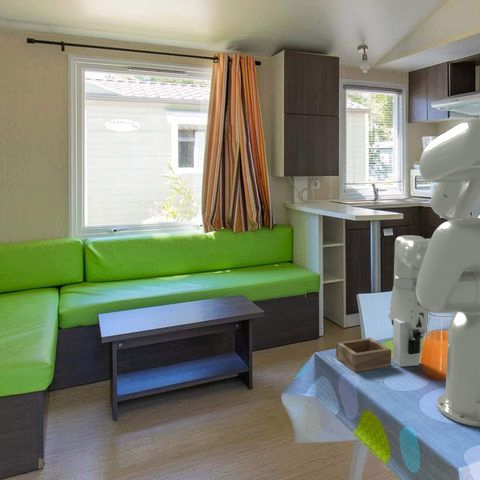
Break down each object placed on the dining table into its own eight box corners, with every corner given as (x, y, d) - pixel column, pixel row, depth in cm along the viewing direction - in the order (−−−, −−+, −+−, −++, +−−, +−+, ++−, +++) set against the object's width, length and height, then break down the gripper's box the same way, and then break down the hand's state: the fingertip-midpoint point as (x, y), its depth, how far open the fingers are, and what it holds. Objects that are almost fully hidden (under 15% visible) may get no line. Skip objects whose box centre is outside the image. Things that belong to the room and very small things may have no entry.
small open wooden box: (390, 366, 115) (391, 349, 114) (354, 372, 111) (355, 355, 111) (369, 353, 124) (370, 337, 123) (335, 358, 120) (336, 342, 120)
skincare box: (412, 359, 119) (414, 316, 117) (421, 365, 115) (422, 321, 113) (391, 360, 118) (393, 318, 117) (399, 367, 114) (400, 323, 112)
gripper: (445, 289, 107) (441, 359, 109) (399, 275, 123) (397, 337, 125) (419, 291, 104) (417, 364, 107) (377, 277, 120) (375, 340, 123)
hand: (406, 349), depth 116 cm, fingers closed on skincare box, 4 cm apart
